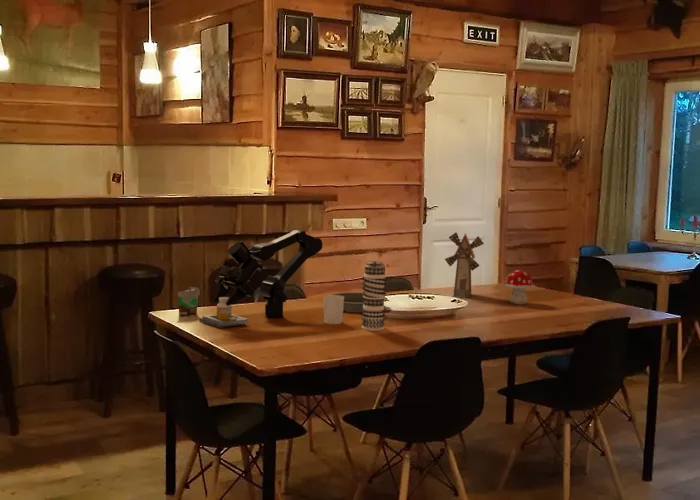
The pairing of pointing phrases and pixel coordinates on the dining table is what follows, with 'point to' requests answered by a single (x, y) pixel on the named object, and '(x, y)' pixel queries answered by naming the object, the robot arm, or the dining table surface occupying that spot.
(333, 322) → the white cup
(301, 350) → the dining table surface
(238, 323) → the grey knobbed square frame
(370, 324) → the decorative candle
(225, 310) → the supplement bottle
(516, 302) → the decorative mushroom
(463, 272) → the windmill
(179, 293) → the food container
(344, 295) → the cake pan
